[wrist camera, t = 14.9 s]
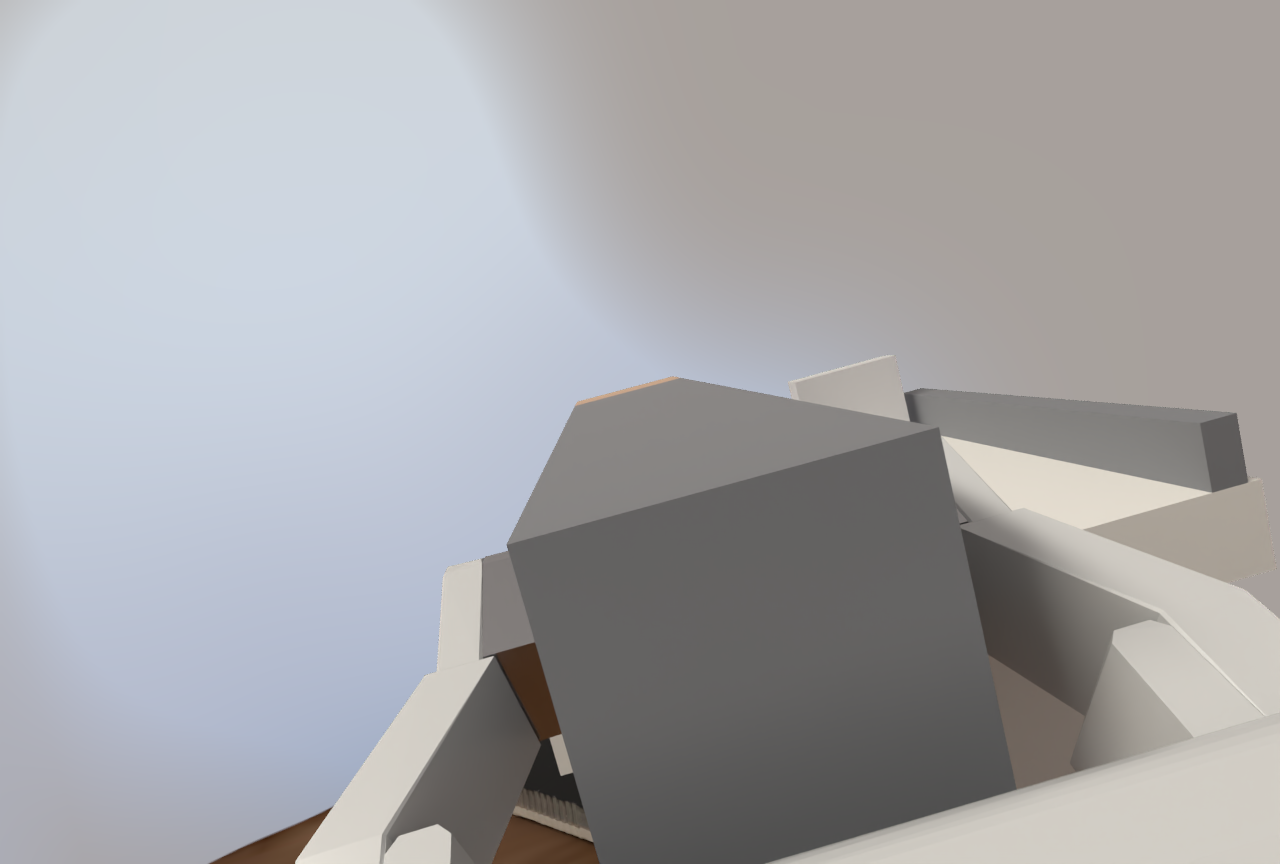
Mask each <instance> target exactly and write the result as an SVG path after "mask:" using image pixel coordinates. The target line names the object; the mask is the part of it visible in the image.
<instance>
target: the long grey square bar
mask: <svg viewBox="0 0 1280 864" xmlns="http://www.w3.org/2000/svg"><path fill="white" fill-rule="evenodd" d="M507 548H508V551H509V555H510V558H511V562H512V565H513V568H514V572H515V575H516V579H517V582H518V586H519V589H520V592H521V596H522V599H523V603H524V606H525V610H526V613H527V616H528V620H529V623H530V627H531V630H532V634H533V637H534V640H535V644H536V647H537V651H538V654H539V657H540V661H541V664H542V668H543V671H544V675H545V678H546V681H547V685H548V688H549V692H550V695H551V699H552V702H553V705H554V709H555V712H556V716H557V719H558V723H559V726H560V729H561V733H562V736H563V740H564V743H565V747H566V750H567V753H568V757H569V760H570V764H571V767H572V770H573V774H574V777H575V781H576V784H577V788H578V791H579V794H580V798H581V801H582V805H583V808H584V812H585V815H586V818H587V822H588V825H589V829H590V832H591V836H592V839H593V842H594V846H595V849H596V853H597V856H598V860H599V863H600V864H765V863H769V862H772V861H775V860H779V859H782V858H786V857H789V856H792V855H796V854H799V853H803V852H806V851H809V850H813V849H816V848H820V847H823V846H826V845H830V844H833V843H837V842H840V841H843V840H847V839H850V838H854V837H857V836H860V835H864V834H867V833H871V832H874V831H877V830H881V829H884V828H887V827H891V826H894V825H898V824H901V823H904V822H908V821H911V820H915V819H918V818H921V817H925V816H928V815H932V814H935V813H938V812H942V811H945V810H949V809H952V808H955V807H959V806H962V805H966V804H969V803H972V802H976V801H979V800H983V799H986V798H989V797H993V796H996V795H1000V794H1003V793H1006V792H1010V791H1013V790H1017V788H1016V784H1015V779H1014V774H1013V770H1012V765H1011V760H1010V756H1009V751H1008V747H1007V742H1006V737H1005V733H1004V728H1003V723H1002V719H1001V714H1000V709H999V705H998V700H997V695H996V691H995V686H994V681H993V677H992V672H991V667H990V663H989V658H988V653H987V649H986V644H985V639H984V635H983V630H982V625H981V621H980V616H979V611H978V607H977V602H976V597H975V593H974V588H973V583H972V579H971V574H970V569H969V565H968V560H967V555H966V551H965V546H964V542H963V537H962V532H961V528H960V523H959V518H958V514H957V509H956V504H955V500H954V495H953V490H952V486H951V481H950V476H949V472H948V467H947V462H946V458H945V453H944V448H943V444H942V439H941V434H940V430H939V427H936V426H931V425H926V424H920V423H915V422H910V421H905V420H899V419H894V418H889V417H884V416H878V415H873V414H868V413H862V412H857V411H852V410H847V409H841V408H836V407H831V406H826V405H820V404H815V403H810V402H805V401H799V400H794V399H789V398H783V397H778V396H773V395H767V394H763V393H757V392H752V391H747V390H741V389H736V388H731V387H726V386H720V385H715V384H710V383H705V382H699V381H694V380H689V379H684V378H678V377H669V378H665V379H662V380H658V381H654V382H650V383H646V384H643V385H639V386H635V387H631V388H627V389H624V390H620V391H616V392H613V393H609V394H605V395H601V396H597V397H594V398H590V399H586V400H583V401H579V402H577V403H576V405H575V407H574V409H573V411H572V413H571V416H570V417H569V419H568V421H567V423H566V425H565V427H564V429H563V432H562V434H561V436H560V438H559V440H558V442H557V444H556V446H555V448H554V450H553V452H552V454H551V456H550V458H549V460H548V462H547V464H546V466H545V468H544V470H543V472H542V474H541V476H540V478H539V480H538V482H537V484H536V486H535V488H534V490H533V492H532V494H531V496H530V498H529V500H528V502H527V504H526V506H525V509H524V511H523V513H522V515H521V517H520V519H519V521H518V523H517V525H516V527H515V529H514V531H513V533H512V535H511V537H510V539H509V541H508V543H507Z"/></svg>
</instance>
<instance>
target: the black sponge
mask: <svg viewBox="0 0 1280 864" xmlns="http://www.w3.org/2000/svg"><path fill="white" fill-rule="evenodd" d="M539 742H540V744H541V746H540V749H539V751H538V753H537V756H536V758H535V761H534V763H533V765H532V768H531V770H530V773H529V775H528V777H527V780H526V782H525V785H524V787H523V789H522V792H521V794H520V797H519V799H518V801H517V804H516V806H515V808H514V811H513V813H512V814H514V815H515V816H522V817H524V818H528V819H531V820H534V821H536V822H538V823H541V824H543V825H547V826H549V827H552V828H554V829H558V830H560V831H564V832H566V833H567V834H572V835H573V836H577V837H579V838H580V839H586V840H589V841H591V842H593V839H592V836H591V832H590V829H589V825H588V822H587V818H586V815H585V812H584V808H583V805H582V801H581V798H580V794H579V791H578V788H577V784H576V781H575V777H574V774H573V773H569V774H566V775H563V776H561V775H560V772H559V768H558V765H557V762H556V758H555V755H554V752H553V748H552V745H551V742H550V738H547V739H544V740H541V741H539Z"/></svg>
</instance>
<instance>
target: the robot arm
mask: <svg viewBox="0 0 1280 864" xmlns="http://www.w3.org/2000/svg"><path fill="white" fill-rule="evenodd" d="M941 439H942V444H943V448H944V453H945V458H946V462H947V467H948V472H949V476H950V481H951V486H952V490H953V495H954V500H955V504H956V509H957V514H958V518H959V523H960V528H961V532H962V537H963V542H964V546H965V551H966V555H967V560H968V565H969V569H970V574H971V579H972V583H973V588H974V593H975V597H976V602H977V607H978V611H979V616H980V621H981V625H982V630H983V635H984V639H985V644H986V649H987V653H988V655H990V656H991V657H993V658H994V659H996V660H997V661H999V662H1001V663H1002V664H1004V665H1005V666H1007V667H1008V668H1010V669H1012V670H1013V671H1015V672H1016V673H1018V674H1019V675H1021V676H1023V677H1024V678H1026V679H1027V680H1029V681H1030V682H1032V683H1034V684H1035V685H1037V686H1038V687H1040V688H1041V689H1043V690H1044V691H1046V692H1048V693H1049V694H1051V695H1052V696H1054V697H1055V698H1057V699H1059V700H1060V701H1062V702H1063V703H1065V704H1066V705H1068V706H1070V707H1071V708H1073V709H1074V710H1076V711H1077V712H1079V713H1081V714H1082V715H1084V716H1085V718H1084V721H1083V724H1082V727H1081V730H1080V733H1079V736H1078V739H1077V742H1076V745H1075V748H1074V751H1073V755H1072V758H1071V761H1070V764H1071V765H1072V767H1073V768H1074V770H1075V771H1076V772H1075V773H1071V774H1068V775H1064V776H1061V777H1058V778H1054V779H1051V780H1047V781H1044V782H1041V783H1037V784H1034V785H1030V786H1027V787H1023V788H1020V789H1017V790H1013V791H1010V792H1006V793H1003V794H1000V795H996V796H993V797H989V798H986V799H983V800H979V801H976V802H972V803H969V804H966V805H962V806H959V807H955V808H952V809H949V810H945V811H942V812H938V813H935V814H932V815H928V816H925V817H921V818H918V819H915V820H911V821H908V822H904V823H901V824H898V825H894V826H891V827H887V828H884V829H881V830H877V831H874V832H871V833H867V834H864V835H860V836H857V837H854V838H850V839H847V840H843V841H840V842H837V843H833V844H830V845H826V846H823V847H820V848H816V849H813V850H809V851H806V852H803V853H799V854H796V855H792V856H789V857H786V858H782V859H779V860H775V861H772V862H769V863H765V864H1280V619H1279V618H1278V617H1277V616H1275V615H1274V614H1273V613H1272V612H1271V611H1269V610H1268V609H1267V608H1266V607H1265V606H1264V605H1263V604H1261V603H1260V602H1259V601H1258V600H1257V599H1255V598H1254V597H1253V596H1252V595H1251V594H1250V593H1248V592H1247V591H1246V590H1244V589H1241V588H1238V587H1236V586H1233V585H1231V584H1228V583H1225V582H1223V581H1220V580H1217V579H1215V578H1212V577H1209V576H1206V575H1204V574H1201V573H1198V572H1196V571H1193V570H1190V569H1188V568H1185V567H1182V566H1179V565H1177V564H1174V563H1171V562H1169V561H1166V560H1163V559H1160V558H1158V557H1155V556H1152V555H1150V554H1147V553H1144V552H1142V551H1139V550H1136V549H1133V548H1131V547H1128V546H1125V545H1123V544H1120V543H1117V542H1115V541H1112V540H1109V539H1106V538H1104V537H1101V536H1098V535H1096V534H1093V533H1090V532H1088V531H1085V530H1082V529H1079V528H1077V527H1074V526H1071V525H1069V524H1066V523H1063V522H1060V521H1058V520H1055V519H1052V518H1050V517H1047V516H1044V515H1042V514H1039V513H1036V512H1033V511H1031V510H1028V509H1025V508H1021V509H1017V510H1013V511H1012V510H1011V509H1010V508H1009V507H1008V506H1007V505H1006V504H1005V503H1004V502H1003V501H1002V500H1001V498H1000V497H999V496H998V495H997V494H996V493H995V492H994V491H993V490H992V489H991V488H990V487H989V486H988V485H987V484H986V483H985V482H984V480H983V479H982V478H981V477H980V476H979V475H978V474H977V473H976V472H975V471H974V470H973V469H972V468H971V467H970V466H969V465H968V464H967V463H966V461H965V460H964V459H963V458H962V457H961V456H960V455H959V454H958V453H957V452H956V451H955V450H954V449H953V448H952V447H951V446H950V445H949V444H948V442H947V441H946V440H945V439H944V438H943V437H942V436H941ZM560 734H562V733H561V729H560V726H559V723H558V719H557V716H556V712H555V709H554V705H553V702H552V699H551V695H550V692H549V688H548V685H547V681H546V678H545V675H544V671H543V668H542V664H541V661H540V657H539V654H538V651H537V647H536V644H535V640H534V637H533V634H532V630H531V627H530V623H529V620H528V616H527V613H526V610H525V606H524V603H523V599H522V596H521V592H520V589H519V586H518V582H517V579H516V575H515V572H514V568H513V565H512V562H511V558H510V555H509V551H506V552H502V553H499V554H494V555H491V556H486V557H485V558H483V559H478V560H474V561H470V562H466V563H462V564H458V565H454V566H450V567H448V568H447V569H446V572H445V574H444V576H443V585H442V601H441V615H440V631H439V646H438V662H437V672H434V673H431V674H427V675H425V676H424V678H423V679H422V680H421V682H420V683H419V685H418V686H417V688H416V689H415V691H414V692H413V693H412V695H411V696H410V698H409V699H408V701H407V702H406V703H405V705H404V706H403V708H402V709H401V711H400V712H399V713H398V715H397V716H396V718H395V719H394V721H393V722H392V723H391V725H390V726H389V728H388V729H387V731H386V732H385V734H384V735H383V737H382V738H381V739H380V741H379V742H378V744H377V745H376V746H375V748H374V749H373V751H372V752H371V754H370V755H369V756H368V758H367V759H366V761H365V762H364V764H363V765H362V767H361V768H360V769H359V771H358V772H357V774H356V775H355V777H354V778H353V780H352V781H351V783H350V784H349V785H348V787H347V788H346V790H345V791H344V793H343V794H342V795H341V797H340V798H339V800H338V801H337V803H336V804H335V805H334V807H333V808H332V810H331V811H330V812H329V814H328V815H327V817H326V818H325V820H324V821H323V823H322V824H321V825H320V827H319V828H318V830H317V831H316V833H315V834H314V835H313V837H312V838H311V840H310V841H309V843H308V844H307V845H306V847H305V848H304V850H303V851H302V853H301V854H300V856H299V857H298V858H297V860H296V862H295V864H492V861H493V859H494V856H495V854H496V852H497V849H498V847H499V844H500V842H501V840H502V837H503V835H504V832H505V830H506V828H507V825H508V823H509V820H510V818H511V816H512V813H513V811H514V808H515V806H516V804H517V801H518V799H519V797H520V794H521V792H522V789H523V787H524V785H525V782H526V780H527V777H528V775H529V773H530V770H531V768H532V765H533V763H534V761H535V758H536V756H537V753H538V751H539V749H540V746H541V744H540V742H539V741H541V740H544V739H547V738H551V737H554V736H557V735H560Z"/></svg>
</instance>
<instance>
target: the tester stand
mask: <svg viewBox="0 0 1280 864" xmlns="http://www.w3.org/2000/svg"><path fill="white" fill-rule="evenodd" d="M788 384H789V388H790V392H791V397H792V399H794V400H799V401H805V402H810V403H815V404H820V405H826V406H831V407H836V408H841V409H847V410H852V411H857V412H862V413H868V414H873V415H878V416H884V417H889V418H894V419H899V420H905V421H910V422H915V423H920V424H926V425H931V426H936V427H939V430H940V434H941V436H942V437H943V438H944V439H945V440H946V441H947V442H948V444H949V445H950V446H951V447H952V448H953V449H954V450H955V451H956V452H957V453H958V454H959V455H960V456H961V457H962V458H963V459H964V460H965V461H966V463H967V464H968V465H969V466H970V467H971V468H972V469H973V470H974V471H975V472H976V473H977V474H978V475H979V476H980V477H981V478H982V479H983V480H984V482H985V483H986V484H987V485H988V486H989V487H990V488H991V489H992V490H993V491H994V492H995V493H996V494H997V495H998V496H999V497H1000V498H1001V500H1002V501H1003V502H1004V503H1005V504H1006V505H1007V506H1008V507H1009V508H1010V509H1011V510H1012V511H1013V510H1017V509H1021V508H1025V509H1028V510H1031V511H1033V512H1036V513H1039V514H1042V515H1044V516H1047V517H1050V518H1052V519H1055V520H1058V521H1060V522H1063V523H1066V524H1069V525H1071V526H1074V527H1077V528H1079V529H1082V530H1085V531H1088V532H1090V533H1093V534H1096V535H1098V536H1101V537H1104V538H1106V539H1109V540H1112V541H1115V542H1117V543H1120V544H1123V545H1125V546H1128V547H1131V548H1133V549H1136V550H1139V551H1142V552H1144V553H1147V554H1150V555H1152V556H1155V557H1158V558H1160V559H1163V560H1166V561H1169V562H1171V563H1174V564H1177V565H1179V566H1182V567H1185V568H1188V569H1190V570H1193V571H1196V572H1198V573H1201V574H1204V575H1206V576H1209V577H1212V578H1215V579H1217V580H1220V581H1223V582H1225V583H1230V582H1233V581H1237V580H1241V579H1244V578H1247V577H1251V576H1254V575H1258V574H1261V573H1265V572H1268V571H1271V570H1275V569H1277V568H1276V562H1275V556H1274V550H1273V544H1272V538H1271V532H1270V526H1269V520H1268V514H1267V508H1266V502H1265V495H1264V489H1263V484H1262V479H1260V478H1254V477H1248V476H1247V473H1246V466H1245V460H1244V455H1243V449H1242V443H1241V437H1240V431H1239V425H1238V419H1237V414H1236V413H1230V412H1217V411H1204V410H1192V409H1179V408H1166V407H1152V406H1141V405H1140V406H1139V405H1128V404H1115V403H1102V402H1090V401H1077V400H1064V399H1051V398H1039V397H1026V396H1013V395H1000V394H987V393H975V392H962V391H948V390H937V389H924V388H922V389H917V390H914V391H910V392H906V393H904V392H903V388H902V383H901V379H900V375H899V370H898V366H897V361H896V357H895V355H892V356H891V355H890V356H881V357H878V358H874V359H870V360H867V361H863V362H859V363H856V364H852V365H848V366H845V367H841V368H838V369H834V370H830V371H826V372H822V373H819V374H815V375H811V376H808V377H804V378H801V379H797V380H793V381H789V382H788ZM988 658H989V663H990V667H991V672H992V677H993V681H994V686H995V691H996V695H997V700H998V705H999V709H1000V714H1001V719H1002V723H1003V728H1004V733H1005V737H1006V742H1007V747H1008V751H1009V756H1010V760H1011V765H1012V770H1013V774H1014V779H1015V784H1016V788H1017V789H1020V788H1023V787H1027V786H1030V785H1034V784H1037V783H1041V782H1044V781H1047V780H1051V779H1054V778H1058V777H1061V776H1064V775H1068V774H1071V773H1075V772H1076V771H1075V770H1074V768H1073V767H1072V765H1071V764H1070V761H1071V758H1072V755H1073V751H1074V748H1075V745H1076V742H1077V739H1078V736H1079V733H1080V730H1081V727H1082V724H1083V721H1084V718H1085V716H1084V715H1082V714H1081V713H1079V712H1077V711H1076V710H1074V709H1073V708H1071V707H1070V706H1068V705H1066V704H1065V703H1063V702H1062V701H1060V700H1059V699H1057V698H1055V697H1054V696H1052V695H1051V694H1049V693H1048V692H1046V691H1044V690H1043V689H1041V688H1040V687H1038V686H1037V685H1035V684H1034V683H1032V682H1030V681H1029V680H1027V679H1026V678H1024V677H1023V676H1021V675H1019V674H1018V673H1016V672H1015V671H1013V670H1012V669H1010V668H1008V667H1007V666H1005V665H1004V664H1002V663H1001V662H999V661H997V660H996V659H994V658H993V657H991V656H990V655H988ZM550 742H551V745H552V748H553V752H554V755H555V758H556V762H557V765H558V768H559V772H560V775H561V776H563V775H566V774H569V773H573V770H572V767H571V764H570V760H569V757H568V753H567V750H566V747H565V743H564V740H563V736H562V734H560V735H557V736H554V737H551V738H550Z"/></svg>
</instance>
